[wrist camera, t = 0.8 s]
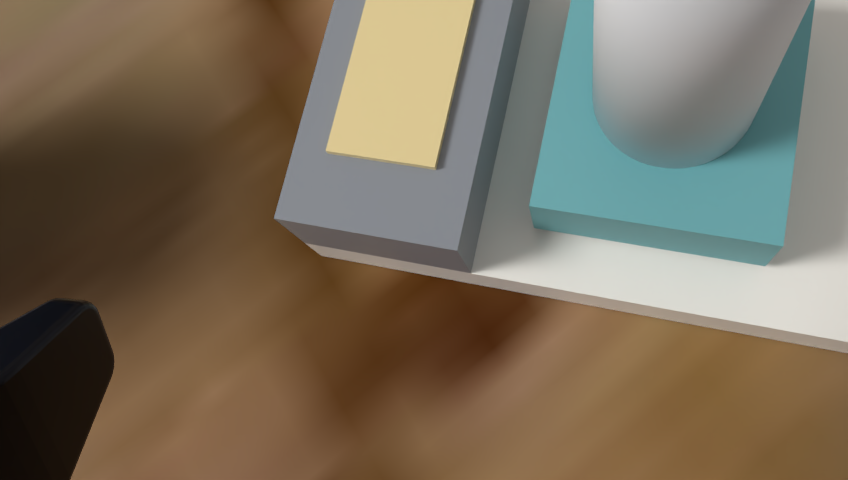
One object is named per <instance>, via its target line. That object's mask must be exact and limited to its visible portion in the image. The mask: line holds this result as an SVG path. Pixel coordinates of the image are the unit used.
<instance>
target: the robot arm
mask: <svg viewBox="0 0 848 480" xmlns="http://www.w3.org/2000/svg"><path fill="white" fill-rule="evenodd" d="M113 369H114V354H113V350H112V348H111V345H110V342H109V340H108V337H107V334H106V331H105V329H104V326H103V323H102V321H101V318H100V315H99V312H98V310H97V308H96V307H95V306H94V305H93V304H92V303H91V302H88V301H83V300H74V299H66V298H55V299H52V300H50V301H47V302H46V303H44V304H42V305H40V306H38V307H37V308H35V309H33V310H31V311H29V312H28V313H26V314H24V315H22V316H20V317H19V318H17V319H15V320H13V321H11V322H10V323H8V324H6V325H4V326H2V327H1V328H0V480H70V479H71V476H72V474H73V471H74V469H75V466H76V464H77V461H78V459H79V456H80V454H81V451H82V449H83V446H84V444H85V441H86V439H87V436H88V434H89V432H90V429H91V427H92V424H93V422H94V419H95V417H96V414H97V412H98V409H99V407H100V404H101V402H102V399H103V397H104V394H105V392H106V389H107V387H108V384H109V382H110V379H111V377H112V374H113Z"/></svg>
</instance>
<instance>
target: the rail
mask: <svg viewBox="0 0 848 480" xmlns="http://www.w3.org/2000/svg"><path fill="white" fill-rule="evenodd" d="M570 3H571V0H334V3H333V7H332V11H331V14H330V18H329V21H328V25H327V29H326V32H325V36H324V39H323V43H322V47H321V50H320V54H319V57H318V61H317V65H316V68H315V72H314V76H313V79H312V83H311V86H310V90H309V94H308V97H307V101H306V104H305V108H304V112H303V115H302V119H301V122H300V126H299V130H298V133H297V137H296V140H295V144H294V148H293V151H292V155H291V158H290V162H289V166H288V169H287V173H286V176H285V180H284V184H283V187H282V191H281V194H280V198H279V202H278V205H277V209H276V213H275V216H274V219H275V220H276V221H278V222H279V223H280V224H281V225H283V226H284V227H285V228H287V229H288V230H289V231H290V232H292V233H293V234H294V235H295V236H297V237H298V238H299V239H301V240H302V241H303V242H304V243H306V244H307V245H308V246H309V247H311V248H312V249H313V250H315V251H316V252H317V253H318V254H320V255H321V256H326V257H331V258H336V259H342V260H347V261H353V262H358V263H363V264H369V265H374V266H380V267H385V268H390V269H396V270H401V271H406V272H412V273H417V274H423V275H428V276H433V277H439V278H444V279H450V280H455V281H460V282H466V283H471V284H477V285H482V286H487V287H493V288H498V289H504V290H509V291H514V292H520V293H525V294H531V295H536V296H541V297H547V298H552V299H557V300H563V301H568V302H574V303H579V304H584V305H590V306H595V307H601V308H606V309H611V310H617V311H622V312H628V313H633V314H638V315H644V316H649V317H655V318H660V319H665V320H671V321H676V322H682V323H687V324H692V325H698V326H703V327H709V328H714V329H719V330H725V331H730V332H735V333H741V334H746V335H752V336H757V337H762V338H768V339H773V340H779V341H784V342H789V343H795V344H800V345H806V346H811V347H816V348H822V349H827V350H833V351H838V352H843V353H848V0H815V6H814V14H813V21H812V29H811V37H810V44H809V52H808V60H807V68H806V75H805V83H804V91H803V99H802V106H801V114H800V122H799V130H798V137H797V145H796V153H795V161H794V168H793V176H792V184H791V192H790V199H789V207H788V215H787V222H786V230H785V238H784V246H783V247H782V249H781V250H780V251H779V252H778V253H777V254H776V255H775V256H774V257H773V258H772V260H771V261H770V262H769V263H768V264H767V265H766V266H760V265H754V264H748V263H742V262H736V261H730V260H724V259H718V258H712V257H706V256H700V255H694V254H688V253H682V252H676V251H670V250H663V249H657V248H651V247H645V246H639V245H633V244H627V243H621V242H615V241H609V240H603V239H597V238H591V237H585V236H579V235H573V234H567V233H561V232H555V231H549V230H543V229H536V228H534V226H533V222H532V217H531V213H530V209H529V203H530V198H531V193H532V188H533V184H534V179H535V174H536V169H537V164H538V159H539V154H540V149H541V144H542V140H543V135H544V130H545V125H546V120H547V115H548V110H549V105H550V100H551V96H552V91H553V86H554V81H555V76H556V71H557V66H558V61H559V56H560V52H561V47H562V42H563V37H564V32H565V27H566V22H567V17H568V12H569V8H570Z"/></svg>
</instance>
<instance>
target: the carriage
mask: <svg viewBox="0 0 848 480" xmlns="http://www.w3.org/2000/svg"><path fill="white" fill-rule="evenodd" d="M814 6H815V0H571V3H570V8H569V12H568V17H567V22H566V27H565V32H564V37H563V42H562V47H561V52H560V56H559V61H558V66H557V71H556V76H555V81H554V86H553V91H552V96H551V100H550V105H549V110H548V115H547V120H546V125H545V130H544V135H543V140H542V144H541V149H540V154H539V159H538V164H537V169H536V174H535V179H534V184H533V188H532V193H531V198H530V203H529V209H530V213H531V217H532V222H533V226H534V228H536V229H543V230H549V231H555V232H561V233H567V234H573V235H579V236H585V237H591V238H597V239H603V240H609V241H615V242H621V243H627V244H633V245H639V246H645V247H651V248H657V249H663V250H670V251H676V252H682V253H688V254H694V255H700V256H706V257H712V258H718V259H724V260H730V261H736V262H742V263H748V264H754V265H760V266H766V265H767V264H768V263H769V262H770V261H771V260H772V258H773V257H774V256H775V255H776V254H777V253H778V252H779V251H780V250H781V249H782V247H783V246H784V238H785V230H786V222H787V215H788V207H789V199H790V192H791V184H792V176H793V168H794V161H795V153H796V145H797V137H798V130H799V122H800V114H801V106H802V99H803V91H804V83H805V75H806V68H807V60H808V52H809V44H810V37H811V29H812V21H813V14H814Z"/></svg>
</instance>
